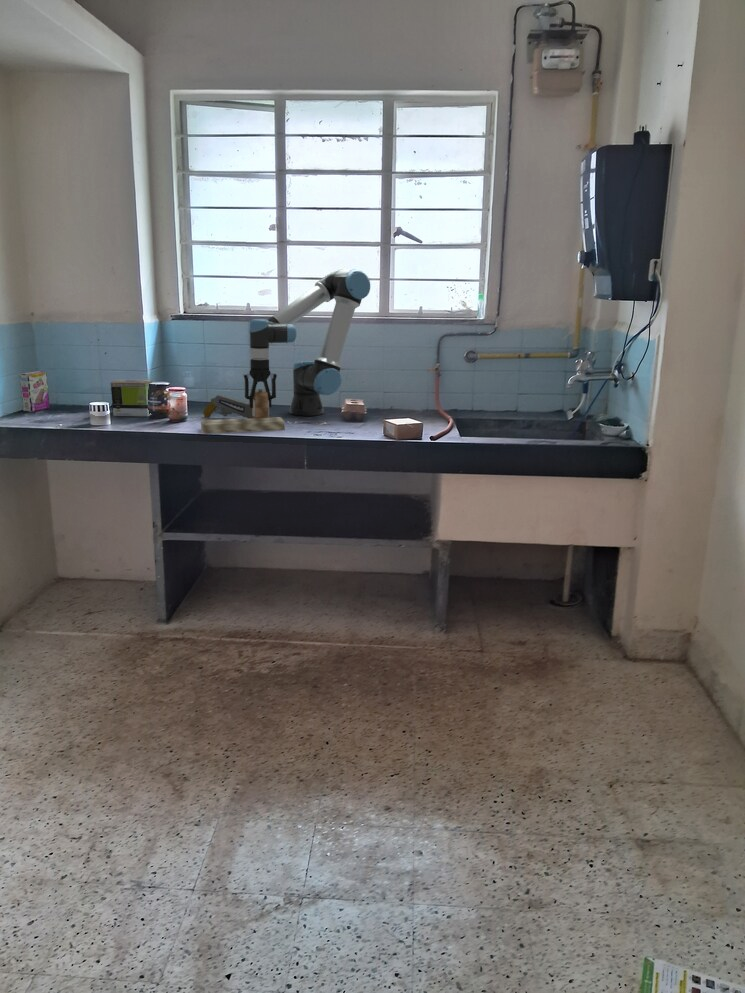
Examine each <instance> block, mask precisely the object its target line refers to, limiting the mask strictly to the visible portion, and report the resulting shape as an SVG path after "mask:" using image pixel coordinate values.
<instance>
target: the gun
mask: <svg viewBox="0 0 745 993" xmlns="http://www.w3.org/2000/svg"><path fill="white" fill-rule="evenodd" d="M216 408H219V409H220V410H221V411H218V410H217V409H216ZM214 412H215V413H217V414H219V415H221V416H224V417H227V416H228V415H232V413H233V414H235V415H239V416H241V417H243V418H244V417H245V418H254V416H253V415H252V408H250V402H246V401H244V400H243V401H242V400H239V399H236V398H233V397H229V396H226V395H222V394H217V395H216V396H215V397H213V398H211V399H210V403H208V404H207V405H206V406H205V408H204V409H203V412H202V413H203V416H204V418H210V417H211V416H212V414H213V413H214Z"/></svg>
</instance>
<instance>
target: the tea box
mask: <svg viewBox="0 0 745 993" xmlns="http://www.w3.org/2000/svg"><path fill="white" fill-rule="evenodd" d="M152 380H153V379H116V380H114V381H111V382H110V391H111V403H112V414H113V417H145V418H146V417H149V416H151V415H152V414H151V413H150V414H149V410H148V387H149V384H150V383H152V384H153V381H152Z"/></svg>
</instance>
